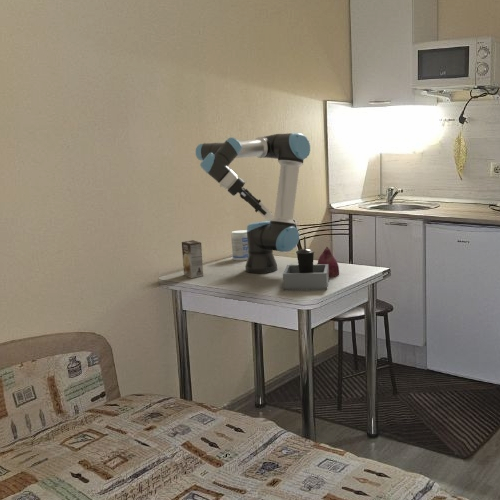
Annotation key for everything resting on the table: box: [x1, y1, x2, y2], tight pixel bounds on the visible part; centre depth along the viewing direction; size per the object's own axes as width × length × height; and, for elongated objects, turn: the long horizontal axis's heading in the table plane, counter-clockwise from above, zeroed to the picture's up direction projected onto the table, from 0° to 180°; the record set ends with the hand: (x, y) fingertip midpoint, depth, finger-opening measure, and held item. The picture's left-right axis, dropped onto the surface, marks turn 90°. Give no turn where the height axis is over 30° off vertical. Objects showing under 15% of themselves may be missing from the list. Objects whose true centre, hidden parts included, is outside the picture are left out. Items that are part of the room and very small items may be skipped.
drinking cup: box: [295, 236, 315, 273], centre depth 294 cm, size 8×8×20 cm
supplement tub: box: [231, 229, 248, 262], centre depth 359 cm, size 10×10×15 cm
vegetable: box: [316, 246, 340, 278], centre depth 311 cm, size 10×10×15 cm
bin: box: [282, 263, 330, 291], centre depth 296 cm, size 18×18×7 cm
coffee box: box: [181, 239, 204, 279], centre depth 326 cm, size 9×6×16 cm
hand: (270, 216), depth 292 cm, fingers open, 13 cm apart
